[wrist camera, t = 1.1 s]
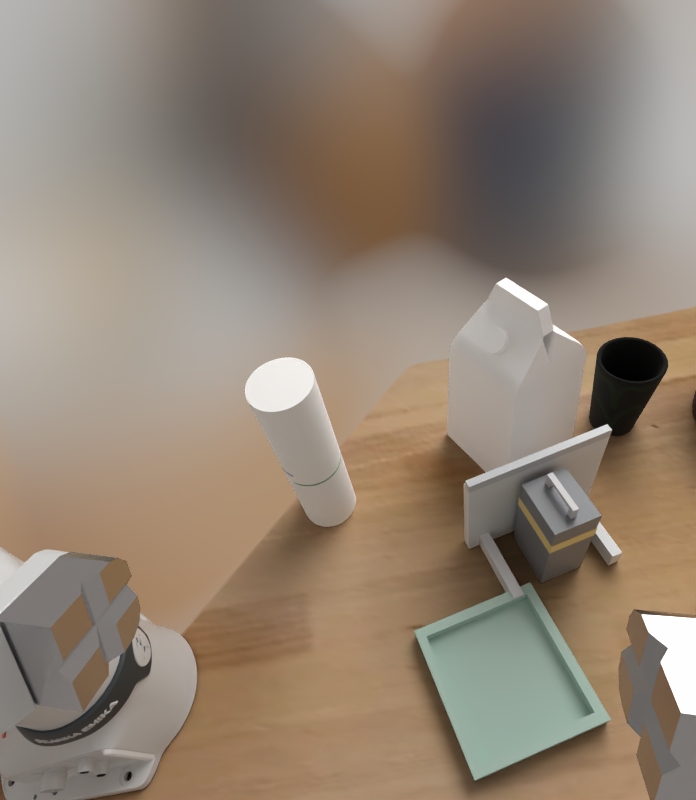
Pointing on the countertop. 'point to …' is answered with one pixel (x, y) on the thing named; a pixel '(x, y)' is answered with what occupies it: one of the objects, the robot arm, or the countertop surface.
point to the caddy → (554, 524)
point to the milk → (512, 380)
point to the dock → (500, 490)
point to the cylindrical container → (302, 438)
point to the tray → (508, 681)
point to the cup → (624, 382)
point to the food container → (694, 405)
